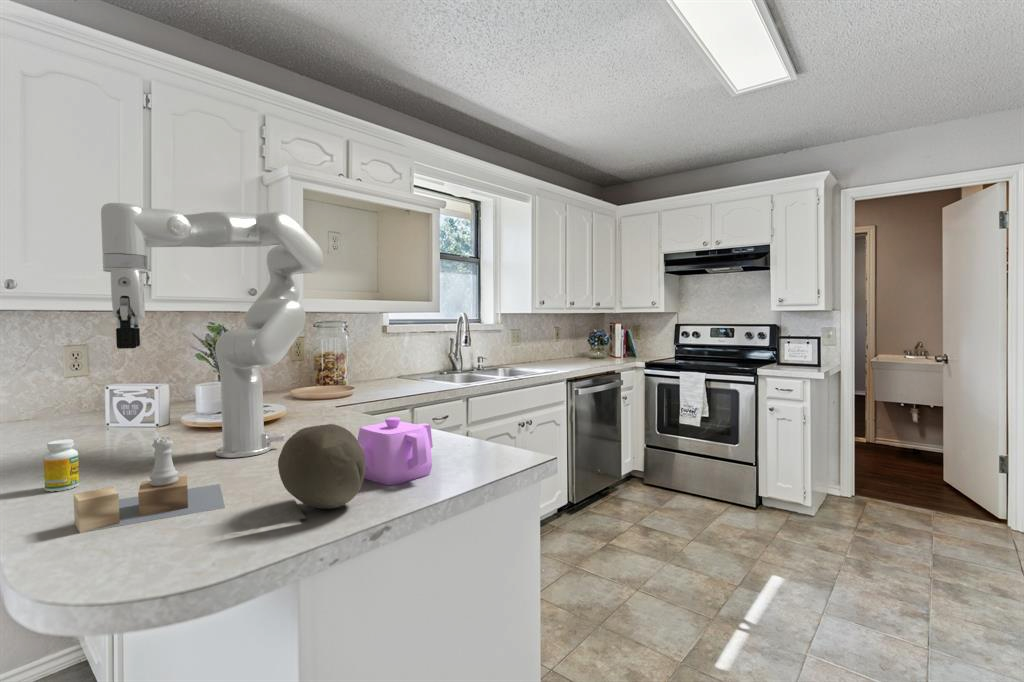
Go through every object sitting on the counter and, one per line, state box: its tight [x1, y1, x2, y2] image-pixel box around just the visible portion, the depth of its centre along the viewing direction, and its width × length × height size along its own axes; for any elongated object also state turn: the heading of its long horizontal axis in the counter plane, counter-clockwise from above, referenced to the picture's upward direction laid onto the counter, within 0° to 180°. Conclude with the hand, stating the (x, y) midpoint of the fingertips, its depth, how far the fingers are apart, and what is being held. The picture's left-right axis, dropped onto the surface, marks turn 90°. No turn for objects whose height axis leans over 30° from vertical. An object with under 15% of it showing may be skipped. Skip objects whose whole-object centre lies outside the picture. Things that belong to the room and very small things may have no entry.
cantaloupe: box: [277, 423, 366, 510], centre depth 92 cm, size 14×14×15 cm
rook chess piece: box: [148, 436, 179, 487], centre depth 92 cm, size 4×4×8 cm
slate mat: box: [78, 483, 226, 534], centre depth 93 cm, size 20×16×1 cm
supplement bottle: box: [43, 438, 80, 493], centre depth 106 cm, size 5×5×10 cm
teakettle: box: [357, 416, 434, 486], centre depth 113 cm, size 17×17×12 cm
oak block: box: [73, 486, 120, 534], centre depth 84 cm, size 5×5×5 cm
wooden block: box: [137, 475, 189, 516], centre depth 92 cm, size 7×7×4 cm
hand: (129, 347), depth 109 cm, fingers open, 9 cm apart
